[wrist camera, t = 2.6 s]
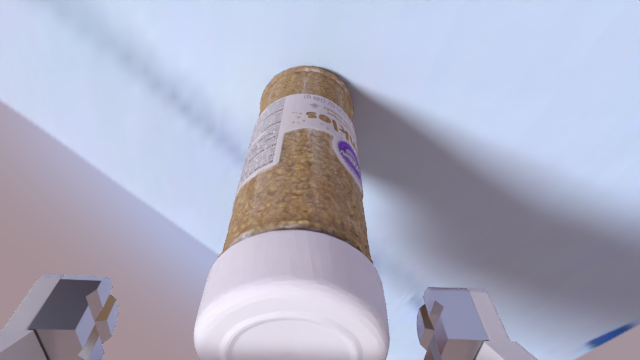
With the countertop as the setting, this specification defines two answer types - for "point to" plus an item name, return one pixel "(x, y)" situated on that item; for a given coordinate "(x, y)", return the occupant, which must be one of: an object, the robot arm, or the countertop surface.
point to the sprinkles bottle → (297, 238)
